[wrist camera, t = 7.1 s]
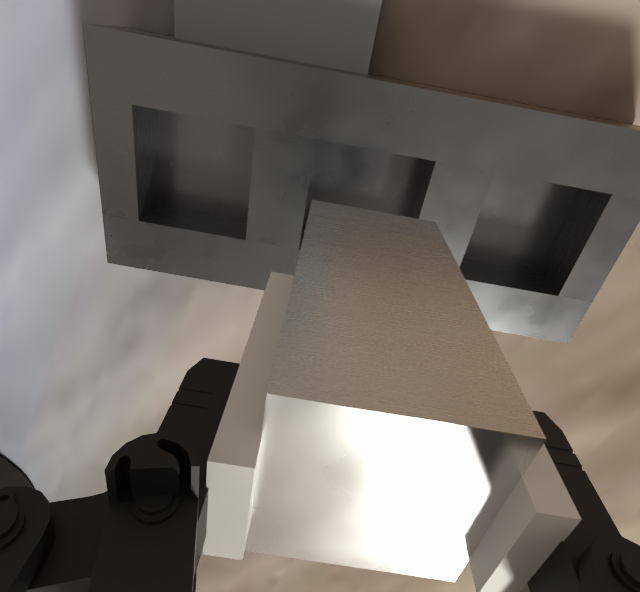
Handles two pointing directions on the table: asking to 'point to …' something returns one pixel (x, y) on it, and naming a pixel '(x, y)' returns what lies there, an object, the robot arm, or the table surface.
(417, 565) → the steel block
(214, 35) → the slate pad
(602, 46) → the table surface
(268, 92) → the grey slotted block
